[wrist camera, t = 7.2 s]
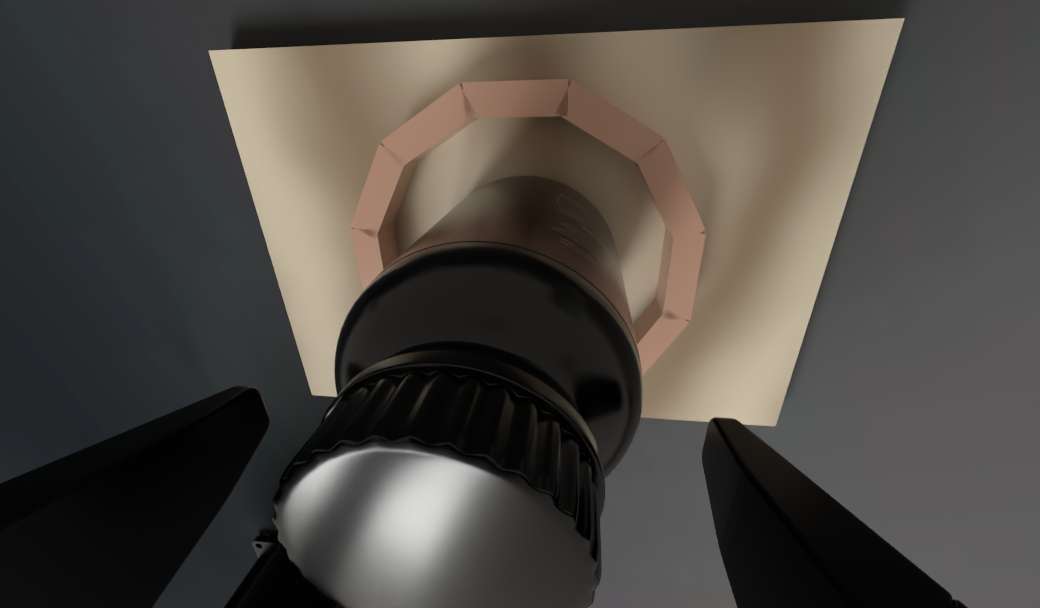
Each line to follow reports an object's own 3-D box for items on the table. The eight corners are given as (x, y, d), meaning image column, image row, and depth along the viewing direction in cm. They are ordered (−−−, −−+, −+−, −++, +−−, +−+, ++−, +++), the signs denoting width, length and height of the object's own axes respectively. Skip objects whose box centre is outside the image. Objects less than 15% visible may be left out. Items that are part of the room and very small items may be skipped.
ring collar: (398, 379, 20) (385, 399, 19) (344, 88, 15) (321, 87, 13) (666, 395, 18) (673, 419, 17) (718, 76, 13) (734, 73, 12)
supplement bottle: (425, 185, 16) (92, 366, 5) (611, 160, 14) (701, 329, 4) (462, 342, 18) (302, 672, 8) (619, 332, 17) (685, 707, 7)
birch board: (323, 383, 22) (312, 395, 21) (229, 53, 15) (208, 50, 15) (766, 411, 19) (775, 426, 18) (882, 24, 13) (904, 18, 12)
